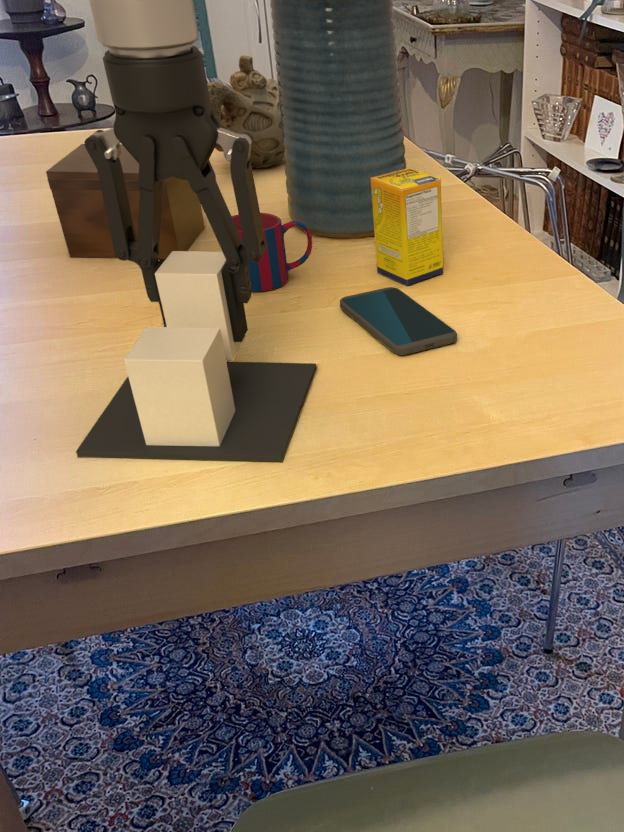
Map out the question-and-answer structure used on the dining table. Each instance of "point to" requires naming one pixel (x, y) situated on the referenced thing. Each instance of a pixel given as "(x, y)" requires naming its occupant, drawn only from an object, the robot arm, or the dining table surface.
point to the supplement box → (407, 225)
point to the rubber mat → (247, 432)
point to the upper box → (181, 386)
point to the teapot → (250, 111)
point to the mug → (273, 254)
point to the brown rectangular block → (87, 214)
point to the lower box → (196, 294)
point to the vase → (337, 109)
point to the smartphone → (398, 320)
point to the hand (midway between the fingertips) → (208, 334)
